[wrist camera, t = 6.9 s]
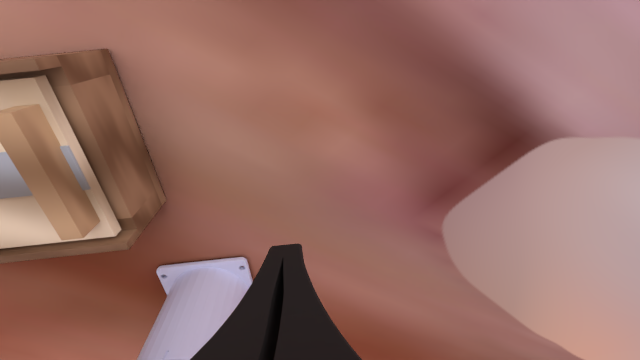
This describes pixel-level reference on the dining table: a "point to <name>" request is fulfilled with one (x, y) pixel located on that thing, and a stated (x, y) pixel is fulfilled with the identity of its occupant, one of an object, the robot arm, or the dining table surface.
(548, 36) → the dining table surface
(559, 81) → the dining table surface
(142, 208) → the keepsake box
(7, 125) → the lid
